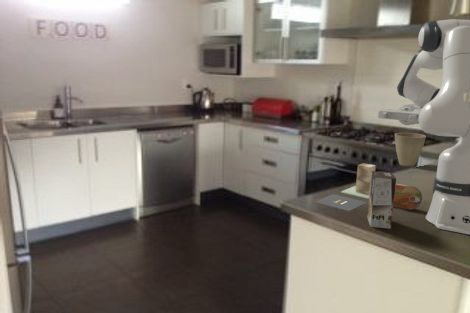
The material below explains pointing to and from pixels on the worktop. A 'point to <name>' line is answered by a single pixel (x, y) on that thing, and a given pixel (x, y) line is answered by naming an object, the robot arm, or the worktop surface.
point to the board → (354, 192)
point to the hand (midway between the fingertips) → (395, 116)
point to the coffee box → (381, 199)
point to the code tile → (340, 202)
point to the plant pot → (409, 147)
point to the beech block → (364, 178)
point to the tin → (407, 197)
